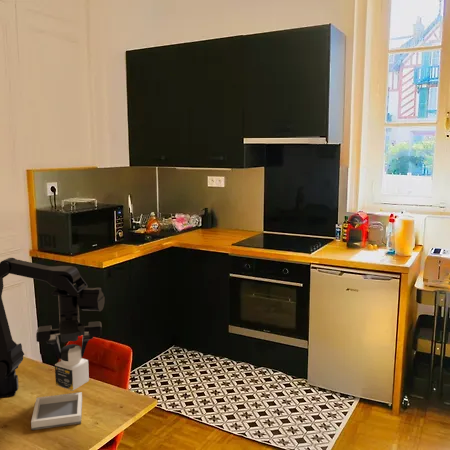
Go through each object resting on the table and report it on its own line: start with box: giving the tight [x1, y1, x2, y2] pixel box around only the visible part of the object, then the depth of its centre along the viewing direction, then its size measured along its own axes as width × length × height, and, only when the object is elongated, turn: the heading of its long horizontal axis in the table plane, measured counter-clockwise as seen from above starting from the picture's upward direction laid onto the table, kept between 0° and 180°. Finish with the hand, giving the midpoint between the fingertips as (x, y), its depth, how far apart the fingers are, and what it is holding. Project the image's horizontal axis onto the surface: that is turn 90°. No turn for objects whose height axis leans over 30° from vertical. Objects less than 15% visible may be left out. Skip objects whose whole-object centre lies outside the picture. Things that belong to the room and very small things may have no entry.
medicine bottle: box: [54, 343, 90, 392], centre depth 148 cm, size 7×7×12 cm
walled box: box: [30, 391, 83, 431], centre depth 140 cm, size 13×13×2 cm
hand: (71, 357), depth 147 cm, fingers closed on medicine bottle, 6 cm apart
